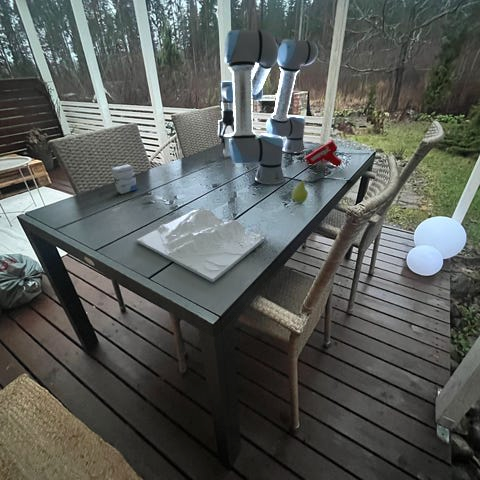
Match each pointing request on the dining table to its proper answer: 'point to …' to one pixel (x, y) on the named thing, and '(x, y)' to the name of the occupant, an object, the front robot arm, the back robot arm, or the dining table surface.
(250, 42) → the front robot arm
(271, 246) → the dining table surface
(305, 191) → the fruit
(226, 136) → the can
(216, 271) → the relief map
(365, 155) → the dining table surface
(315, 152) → the toy gun
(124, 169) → the ink box
